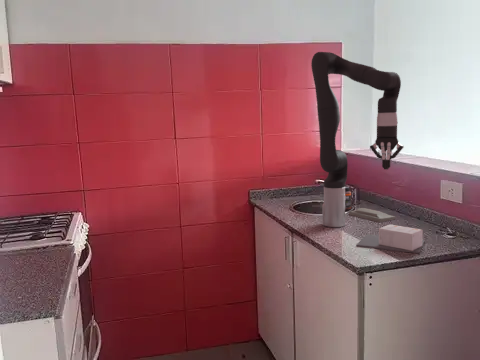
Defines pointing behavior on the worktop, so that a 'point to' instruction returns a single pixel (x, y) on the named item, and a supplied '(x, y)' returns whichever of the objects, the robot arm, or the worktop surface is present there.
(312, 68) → the robot arm
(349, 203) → the supplement bottle
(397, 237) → the small box
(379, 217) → the soap mold
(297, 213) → the worktop surface
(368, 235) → the mat
